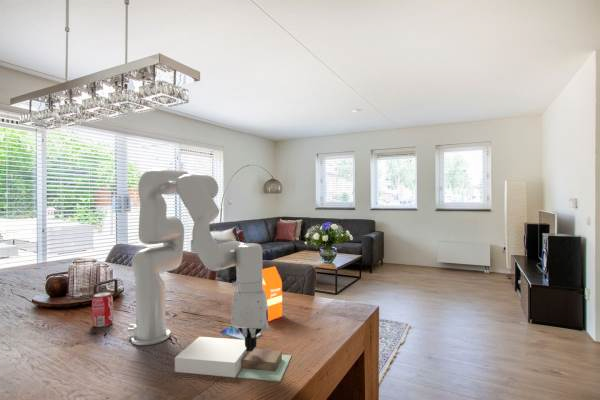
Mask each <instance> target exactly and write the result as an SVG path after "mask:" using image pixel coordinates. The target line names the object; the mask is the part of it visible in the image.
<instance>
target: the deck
mask: <svg viewBox="0 0 600 400" xmlns="http://www.w3.org/2000/svg"><path fill="white" fill-rule="evenodd" d="M246 353H247V351H246V347H245V340H240V339H235V338H226V337H225V338H224V337H212V336H210V337H209V336H198V337H196V339H195V340H193V342H191V343H190V344H189V345H187V347H185V348H184V349H183V350H182V351H181V352H180V353H179V354H177V355H176V356H175V357H174V372H175V373H184V374H194V375H195V374H196V375H204V376H205V375H207V376H214V377H215V376H216V377H225V378H226V377H227V378H237V376H238V375H239V373H240V372H241V370H242V369H243V368H241V359H242V358H243V357H244V355H245V354H246Z"/></svg>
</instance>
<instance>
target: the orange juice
mask: <svg viewBox="0 0 600 400" xmlns="http://www.w3.org/2000/svg"><path fill="white" fill-rule="evenodd" d="M263 290H265V293H266V298H267V305H268V322H270V321H273V320H275V319H279V318H280V317H282V316H283V281H282V278H281V276H280V274H279V271H278V270H277V268H276V266H271V267H267V268H263Z"/></svg>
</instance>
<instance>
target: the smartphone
mask: <svg viewBox="0 0 600 400" xmlns="http://www.w3.org/2000/svg"><path fill="white" fill-rule="evenodd" d="M251 331H252V329H250V332H251ZM218 333H219V335H223V336H225V337H229V338H231V339H240V340H245V337H244V336H243V334H242V333H241V332H240V330H237V329H234V328H233V327H232V325H231V326H228V327H227V328H224V329H222V330H220V331H219V332H218ZM261 337H263V334H262V332H261V333H260V332H259V333H258V334H257V335H256V340H257V339H259V338H261Z"/></svg>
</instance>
